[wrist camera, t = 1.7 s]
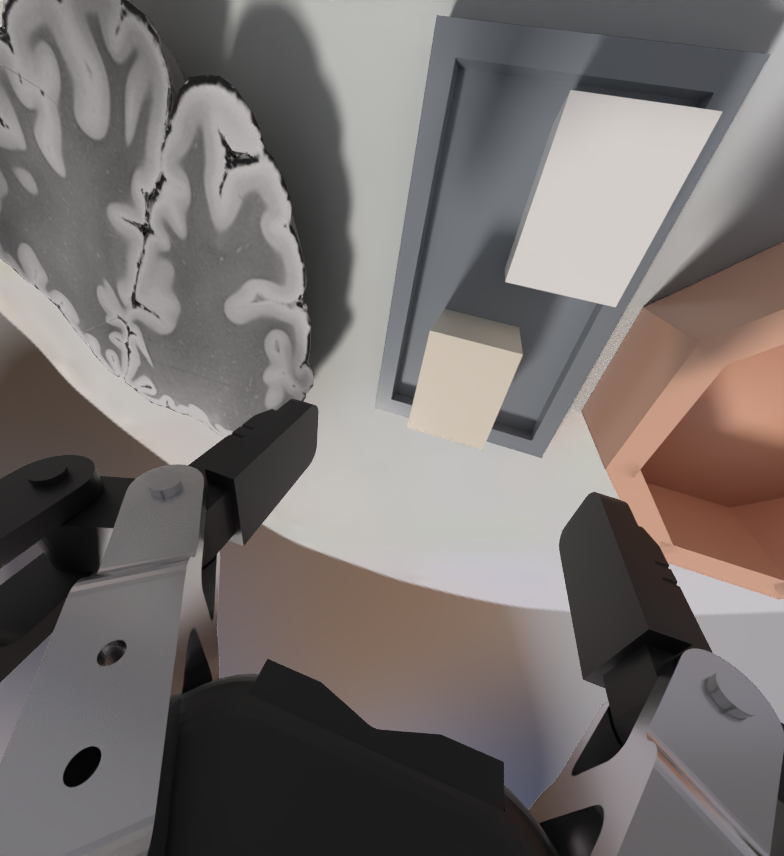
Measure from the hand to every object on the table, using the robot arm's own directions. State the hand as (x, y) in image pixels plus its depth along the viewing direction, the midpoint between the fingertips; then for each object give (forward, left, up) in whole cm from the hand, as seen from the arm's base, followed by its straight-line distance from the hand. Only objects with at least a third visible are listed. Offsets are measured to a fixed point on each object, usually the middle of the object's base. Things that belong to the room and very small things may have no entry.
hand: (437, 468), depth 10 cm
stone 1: (0, 0, -8) cm, 8 cm away
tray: (-4, +1, -8) cm, 9 cm away
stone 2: (-7, +2, -8) cm, 11 cm away
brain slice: (-2, -16, -9) cm, 18 cm away
